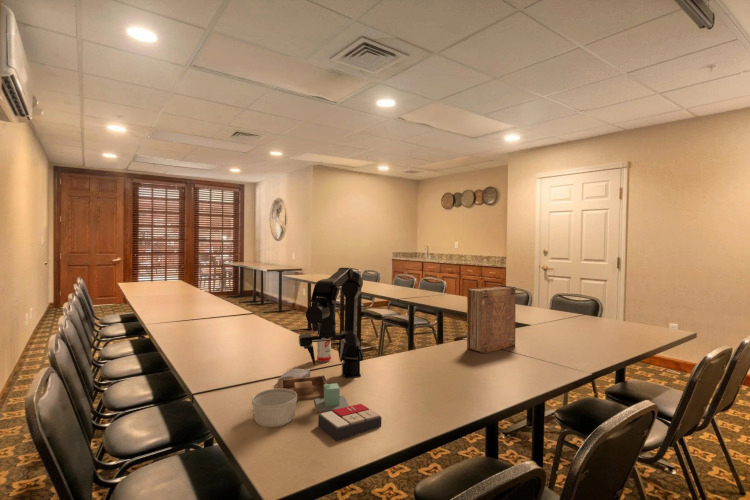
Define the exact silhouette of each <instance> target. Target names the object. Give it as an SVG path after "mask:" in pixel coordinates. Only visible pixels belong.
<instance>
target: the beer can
mask: <svg viewBox="0 0 750 500" xmlns="http://www.w3.org/2000/svg"><path fill="white" fill-rule="evenodd" d="M316 336H319V335H318V334H317V333H316ZM321 339H324V338H321ZM316 359H317V361H318V362H320V363H326V362H330V360H331V359H332V341H321V342H316Z"/></svg>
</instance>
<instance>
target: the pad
mask: <svg viewBox="0 0 750 500" xmlns="http://www.w3.org/2000/svg"><path fill="white" fill-rule="evenodd" d="M314 402H315V407H316V410H317V413H325V412H329V411H333V410H335V409H340V408H344V407H348V406H349V403H348V402H347V400H346V398H345V395H340V405H336V406H327V407H326V406H325V403H324V398H317V399H314Z"/></svg>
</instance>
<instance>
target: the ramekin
mask: <svg viewBox="0 0 750 500" xmlns="http://www.w3.org/2000/svg"><path fill="white" fill-rule="evenodd" d="M297 402H298V401H297V393H296V392H295V391H293V390H290V389H284V388H280V387H279V388H270V389H266V390H262V391H259V392H258V393H256V394H254V395H253V397H252V398H251V406H252V408H253V418H254V420H255V422H256V424H258V425H259V426H261V427H264V428H265V427H266V428H278V427H281V426H285V425H287V424H289V423H290V422H291V421H292V420H293V419H294V417H295V416H296V408H297Z"/></svg>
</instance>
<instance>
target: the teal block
mask: <svg viewBox="0 0 750 500" xmlns="http://www.w3.org/2000/svg"><path fill="white" fill-rule="evenodd" d="M340 389H341V388H340V385H339V384H338V383H337V382H336V383H327V384H325V385H324V403H325V406H326V407H327V406H336V405H340V396H341V393H340Z"/></svg>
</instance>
